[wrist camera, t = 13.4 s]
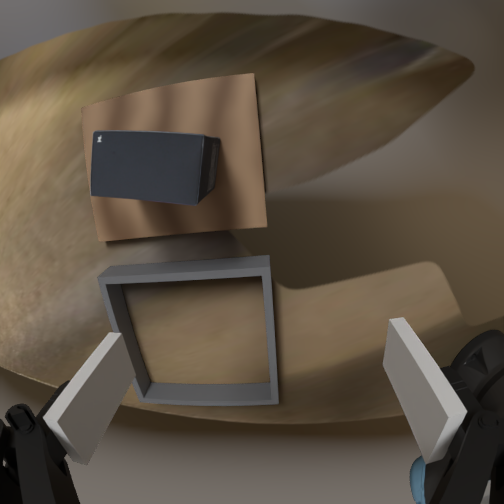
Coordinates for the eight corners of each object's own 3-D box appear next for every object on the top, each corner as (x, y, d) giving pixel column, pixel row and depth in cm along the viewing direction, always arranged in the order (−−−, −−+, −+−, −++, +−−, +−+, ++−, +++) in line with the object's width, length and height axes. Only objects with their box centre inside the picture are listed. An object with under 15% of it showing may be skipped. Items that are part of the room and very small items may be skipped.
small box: (130, 184, 35) (86, 199, 25) (134, 131, 33) (90, 127, 23) (215, 192, 35) (196, 210, 25) (221, 136, 33) (205, 130, 23)
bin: (269, 255, 39) (270, 266, 35) (277, 386, 46) (278, 404, 42) (110, 266, 40) (97, 277, 36) (146, 386, 47) (140, 402, 43)
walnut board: (254, 76, 32) (253, 73, 31) (267, 223, 38) (267, 226, 36) (87, 108, 33) (81, 107, 32) (104, 238, 39) (99, 241, 38)
